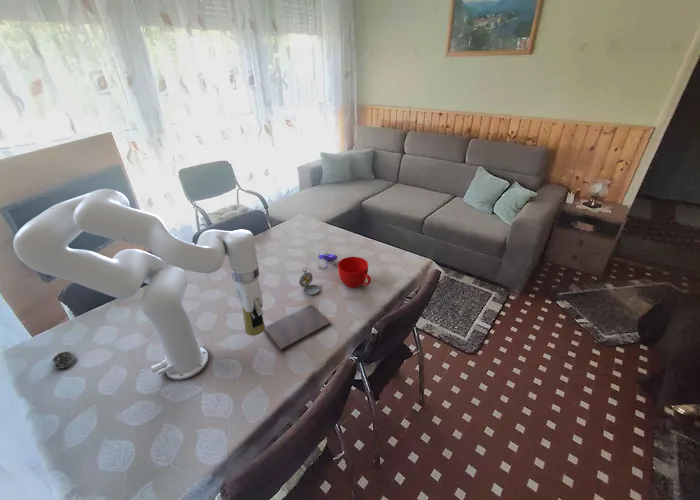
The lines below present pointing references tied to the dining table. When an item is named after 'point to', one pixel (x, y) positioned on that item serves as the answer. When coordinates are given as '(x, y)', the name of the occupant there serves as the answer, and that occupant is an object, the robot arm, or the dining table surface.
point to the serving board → (296, 327)
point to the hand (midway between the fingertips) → (253, 319)
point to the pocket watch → (308, 288)
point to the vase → (248, 324)
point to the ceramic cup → (353, 271)
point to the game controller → (328, 257)
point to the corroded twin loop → (62, 360)
